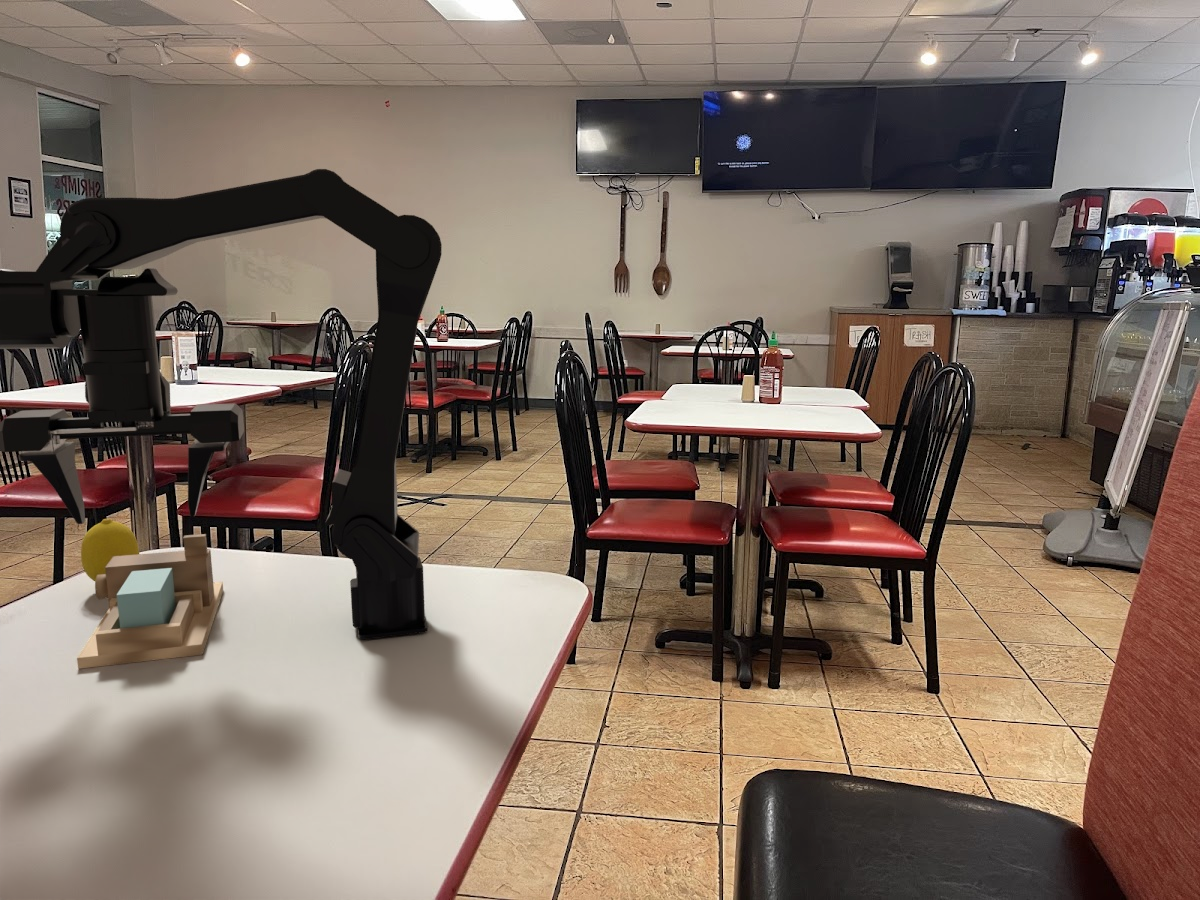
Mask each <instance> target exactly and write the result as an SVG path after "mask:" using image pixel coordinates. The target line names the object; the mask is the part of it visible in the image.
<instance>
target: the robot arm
mask: <svg viewBox="0 0 1200 900" xmlns="http://www.w3.org/2000/svg"><path fill="white" fill-rule="evenodd" d="M64 212H65V213H64V214H63V215H62V217H61V220H60V227H59V233H60V236H59V237H58V239H57V241H56V242H55V243H54V244H53V246H52V247H51V249H50V250H49V252H48V253H47V255H46V256H45V257H44V259H43V260H42V262H41V263H40V265H39V266H38V267H37V269H36V271H35V270H34V271H31V270H29V271H28V270H27V271H25V270H23V271H22V270H13V269H9V268H0V350H4V349H5V350H10V349H11V350H19V349H20V350H22V349H23V350H25V349H27V350H28V349H30V350H31V349H34V350H35V349H37V350H38V349H42V350H43V349H65V348H66V347H67V346H68V345H69V343H70V341H71V338H72V337H73V338H74V337H75V338H76V337H77V336H78V335H79V334H80V335H81V336H80V337H81V342H82V353H83V354H82V355H83V361H84V362H82V371H83V376H85V382H84V383H85V384H84V391H85V392H84V395H85V396H84V397H85V398H84V399H85V400H86V401H85V402H87V403H88V405H89V410H88V411H87V415H88V417H69V416H68V413H67V411H66V410H65V408H60V409H32V410H31V409H30V410H29V409H28V410H19V411H18V412H15V413H13V414H11V415H9V416H7V417H4V418H3V419H2V421H0V453H1V452H2V453H13V452H14V453H15V452H16V453H17V452H19V454H18V460H19V461H20V462H31V463H32V464H33V465H34V466H35V468H36V469H37V470H38V471H39V473H41V475H42V476H43V477H44V478H45V479H46V480H47V481H48V483H49V484H50V485H51V486H52V487H53V489H54V490H55V493H57V495H58V496H59V498H60V499H61V501H62V503H63V504H64V506H65V508H66V509H67V510H68V512H69V513H70V515H71V516H72V518H73V520H74V522H76V524H77V525H83V524H84V523H85V521H86V514H85V502H84V498H83V494H82V489H81V484H80V479H79V475H78V471H77V470H78V469H77V465H76V441H67V440H74V439H77V440H78V439H95V438H96V439H97V438H120V437H141V436H142V437H145V436H163V435H164V436H169V435H189V434H190V436H191V439H192V438H193V439H194V440H193V442H192V443H191V444H190V445H189V447H188V448H187V449H188V456H187V458H188V459H187V460H188V461H187V470H188V471H187V505H188V510H189V516H190V517H195V516H196V514H197V512H198V507H199V503H200V500H201V496H202V492H203V489H204V484H205V479H206V476H207V472H208V469H209V467H210V464H211V461H212V459H213V457H214V454H215V453H219V452H224V451H225V450H226V449H227V447H228V446H229V443H233V442H238V441H240V440H241V438H242V437H243V434H244V433H245V425H244V414H243V413H244V412H243V409H242V408H241V406H239V405H238V404H237V403H236V402H235V403H214V404H213V403H212V404H211V403H210V404H209V403H206V404H196V405H194V407H193V409H191V411H189V412H190V413H176V414H175V413H171V388H170V387H171V383H170V382H169V381H168V380H167V379H166V377H165V376H163V374H162V372H161V370H160V369H161V368H160V362H159V356H158V354H159V353H158V347H157V346H158V344H157V336H156V326H155V325H156V323H155V322H156V321H155V314H154V304H153V303H154V302H153V297H166V296H168V297H169V296H175V295H177V294H178V293H179V292H178V288H177V287H176V286H175V285H173V284H171V282H169V281H167V280H166V279H165V278H164V277H163V276H162V275H161V274H160V273H159V271H158V270H157V269H156V268H144V270H143V271H142V273H141V274H140V275H139V276H107V275H109V273H111V272H113V271H114V270H133V269H136V268H138V267H141V266H144V265H146V264H149V263H151V262H155V261H156V260H160V259H162V258H165V257H167V256H169V255H171V254H173V253H175V252H178V251H180V250H182V249H184V248H186V247H189V246H191V245H194V244H196V243H200V242H206V241H209V240H215V239H220V238H225V237H226V238H227V237H230V236H235V235H241V234H246V233H247V234H248V233H251V232H256V231H262V230H266V229H272V228H277V227H284V226H288V225H293V224H298V223H304V222H309V221H313V220H319V219H324V220H326V219H327V220H329V221H330V222H331V223H333V224H334V225H336V226H337V227H339V228H341V229H342V230H344V231H345V232H346V233H348V234H350V235H351V236H353V237H354V238H356V239H358V240H360V242H362V243H364V244H365V245H367V246H368V247H370V248H371V249H373V250H374V251H375V268H376V269H375V273H376V274H375V275H376V277H375V278H376V282H375V283H376V294H377V312H378V313H377V321H376V322H377V323H376V329H375V335H374V342H373V348H372V355H371V362H370V367H369V375H368V379H367V388H366V393H365V401H364V407H363V412H362V419H361V425H360V432H359V437H358V445H357V451H356V456H355V457H356V458H355V462H354V465H353V468H352V470H351V472H350V471H347V470H343V469H341V468H338V470H337V472H336V474H335V476H334V478H333V480H332V483H331V508H330V511H329V513H328V515H327V518H326V521H325V522H324V526H326V527H328V526H332V528H331V539H332V543H333V546H334V547H336V549H337V550H338V552H340V553H341V555H343V556H345V557H346V558H347V559H349V560H352V563H353V565H354V567H355V575H356V578H354V577H353V578H351V579H350V580H349V581H350V582H349V583H350V585H349V586H350V600H351V604H350V605H351V618H352V626H353V627H354V628H357V632H358V639H360V640H370V639H379V638H387V637H398V636H404V635H412V634H422V633H427V632H428V630H429V626H428V621H427V618H426V614H425V613H426V612H425V611H426V610H425V589H424V588H425V587H424V586H425V581H424V579H425V578H424V566H423V562H422V560H421V557H419V549H420V545H419V544H420V531H418V529H416V528H415V527H414V526H412V525H411V524H410V523H409V522H408V521H406V520H405V519H404V518H403V517H402V516H401V515H400V514H398V512H399V511H398V482H397V477H398V476H397V453H398V448H399V447H398V446H399V439H400V433H401V429H402V428H401V427H402V422H403V415H404V409H405V403H406V397H407V393H408V392H407V391H408V385H409V380H410V373H411V366H412V359H413V354H414V348H415V342H416V335H417V329H418V323H419V320H420V317H421V315H422V312H423V309H424V306H425V304H426V301H427V298H428V295H429V292H430V290H431V287H432V284H433V280H434V278H435V275H436V273H437V271H438V267H439V264H440V261H441V258H442V242H441V238H440V235H439V233H438V232H437V230H436V229H435V228H434V226H433V225H432V224H431V223H430V222H428V221H427V220H426V219H424V218H422V217H419V216H417V215H414V214H413V215H412V214H402V215H397V214H396V213H394V212H392V211H391V210H389V209H388V208H386V207H385V206H383V205H381V204H380V203H379V202H377V201H376V200H374V199H372V198H370V197H369V196H367V195H366V194H365V193H364V192H361V191H359V189H356V188H355V187H353V186H351V185H350V184H348V183H347V182H346V181H345V180H344V179H343V177H341V176H340V175H339V174H337V173H336V172H335V171H334V170H329V169H327V168H316V169H314V170H311V171H309V172H307V173H305V174H300V175H294V176H290V177H285V178H284V177H283V178H279V179H274V180H269V181H263V182H257V183H252V184H251V183H250V184H246V185H241V186H235V187H229V188H224V189H219V190H214V191H207V192H202V193H197V194H192V195H186V196H181V197H176V198H175V197H174V198H154V197H153V198H150V197H149V198H148V197H147V198H146V197H87V198H81V199H79V200H76V201H74V202H72V203H71V204H70V205H69V206H67V208H66V210H65V211H64ZM98 280H100V281H99V284H98V286H97V288H96V289H95V288H91V289H90V288H85V289H84V288H73V281H98ZM104 423H117V424H118V425H116V426H105V425H104Z"/></svg>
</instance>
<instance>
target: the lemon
mask: <svg viewBox="0 0 1200 900" xmlns="http://www.w3.org/2000/svg"><path fill="white" fill-rule="evenodd" d="M80 547H81V548H80V559H81V565H82V569H83V571H84V573H85V574H86V575H87V577H89V579H91V580H92V581H93V582H95V581H96V577H97V575H102V574H106V571H105V567H106V566H107V564H108V563H109V562H110V560H111V559H112V558H113V556H125V555H137V554H140V547H139V543H138V540H137V538H136V536H135V534H134V532H133V531H132V530H131V529H130V527H128V526H127V525H125V524H124V523H121V522H118V521H115V520H112V519H111V518H104V519H102V521H101V522H99V523H97V524H95V525H93V526H92V527H91V528H90V529H89V530H87V532H86V533H85V534H84V537H83V539H82V542H81V546H80Z"/></svg>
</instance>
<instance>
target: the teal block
mask: <svg viewBox="0 0 1200 900" xmlns="http://www.w3.org/2000/svg"><path fill="white" fill-rule="evenodd" d="M117 604H118V613H119V622H120V629H121V628H131V627H141V626H151V625H160V624H169V622H170V620H171V618H172V616H173V613H174V611H175V609H176V604H175V594H174V583H173V573H172V568H164V569H153V570H141V571H132V572H131V573H130V575H129V576H128V578H127V580H126V581H125V583H124V584H123V586H122V587H121V589H120V590H119V592H118V593H117Z"/></svg>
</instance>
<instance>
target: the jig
mask: <svg viewBox="0 0 1200 900" xmlns="http://www.w3.org/2000/svg"><path fill="white" fill-rule="evenodd" d="M213 585H214V596H213V599H212V602H211V605H210V606H205V607H203V603H202V592H201V590H196V591H186V592H175V593H174V594H175V604H176V609H175V611H174V613H173V616H172V618H171V620H170V622H169V624H160V625H151V626H141V627H131V628H121V629H120V622H119V613H118V604H117V598H112V599H111V600H110V602H109V601H108V604H109V603H110V606H109V608H108V609H107V611H106V612H105V614H104V616H103V617H102V619H101V620H100V622H99V624H98V625H97V626H96V628H95V630H94V631H93V633H92V634H91V636H90V637H89V638H88V640H87V642H86V644H85V645H84V646H83V648H82V650H81V651H80V653H79V654H78V656H77V657H76V662H77V670H78V669H86V668H87V669H88V668H96V667H104V666H113V665H122V664H124V665H125V664H133V663H138V662H139V663H140V662H149V661H150V662H151V661H157V660H165V659H166V660H167V659H175V658H184V657H192V656H193V657H194V656H200V655H203V654H204V651H205V648H206V644H207V643H208V642H207V641H208V638H209V636H210V633H211V631H212V626H213V623H214V620H215V617H216V614H217V611H218V608H219V605H220V602H221V599H222V596H223V592H224V583H223V581H215V582H214V581H213Z"/></svg>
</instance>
